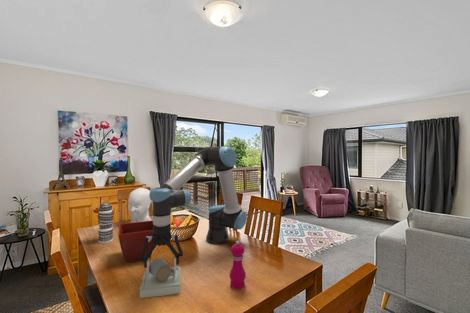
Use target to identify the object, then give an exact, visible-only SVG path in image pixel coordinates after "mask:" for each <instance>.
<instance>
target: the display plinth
mask: <svg viewBox="0 0 470 313" xmlns="http://www.w3.org/2000/svg"><path fill="white" fill-rule="evenodd" d="M170 268H172V269H174V266H172V267H171V266H170ZM177 294H178V295H180V294H181V266H176V273H175V275H174V276H170V277H169V278H168V279H167V280H165V281H163V282H160V281H158V280H156V279H155V278H154V276H153V275H152V274H151V273H149V276H147V269H145V271H144V273H143V277H142V280H141V283H140V287H139V299H144V298H151V297H159V296H170V295H177Z"/></svg>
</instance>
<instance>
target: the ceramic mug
mask: <svg viewBox="0 0 470 313" xmlns="http://www.w3.org/2000/svg"><path fill="white" fill-rule="evenodd" d="M170 267H171V265H169V264H168V262H167V261H166V260H165V259H164V258H162V257H159V258H156V259H153V260H152V262H151V263H150V268H149V271H150V273H151V274H152V275H153V276H154V278H155V279H156V280H158V281H160V282H163V281H165V280H167V279H168V278H169V277H170V276H174V275H175V273H174V269H172V268H170Z"/></svg>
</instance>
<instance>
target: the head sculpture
mask: <svg viewBox="0 0 470 313" xmlns="http://www.w3.org/2000/svg"><path fill="white" fill-rule="evenodd" d="M150 191H151V190H149V189H148V188H145V187H138V188H135V189H133V190H132V191H131V192H130V193H129V195H128V213H129V215H130V218H131V220H130V222H129V223H135V222H144V221H153V219H152V217H150V213H149V209H150V206H151V204H153V201H151V199H150V197H149V194H150Z"/></svg>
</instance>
